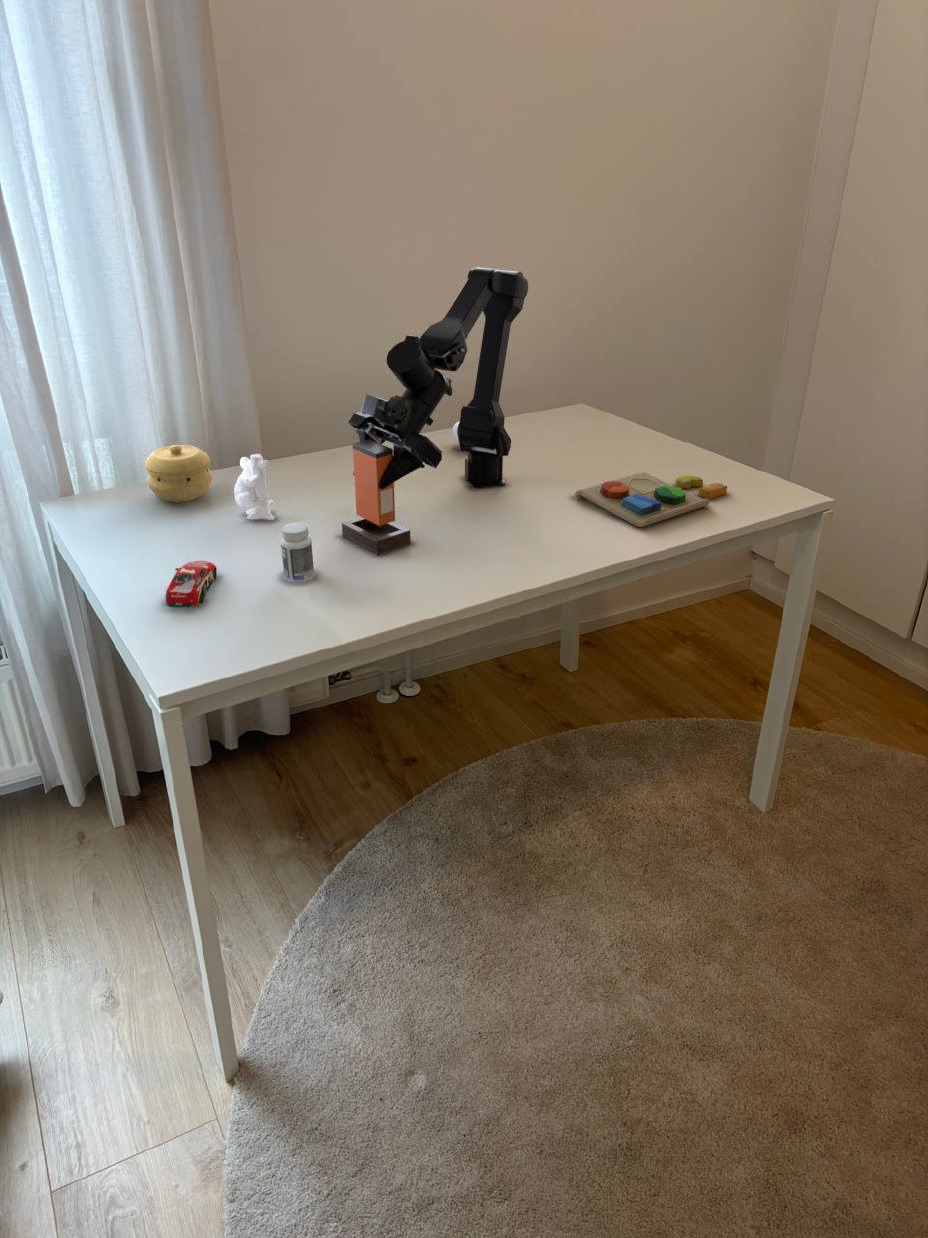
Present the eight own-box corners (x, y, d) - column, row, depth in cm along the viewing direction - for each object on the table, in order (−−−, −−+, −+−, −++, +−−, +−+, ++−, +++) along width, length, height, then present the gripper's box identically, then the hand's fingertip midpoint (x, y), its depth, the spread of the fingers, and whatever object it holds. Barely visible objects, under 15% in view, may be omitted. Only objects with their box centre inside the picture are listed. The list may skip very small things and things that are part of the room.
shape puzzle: (645, 531, 166) (647, 513, 165) (571, 498, 180) (572, 481, 178) (740, 498, 180) (742, 481, 178) (664, 470, 193) (666, 454, 191)
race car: (188, 572, 152) (184, 549, 150) (221, 572, 152) (218, 549, 150) (160, 611, 140) (156, 587, 139) (197, 612, 140) (193, 588, 138)
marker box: (372, 509, 164) (369, 439, 158) (395, 520, 160) (393, 449, 154) (356, 514, 162) (352, 443, 156) (379, 526, 158) (376, 453, 152)
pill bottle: (319, 572, 152) (315, 523, 148) (305, 585, 148) (301, 535, 144) (292, 568, 153) (288, 519, 149) (278, 580, 149) (273, 531, 145)
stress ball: (486, 463, 206) (499, 434, 205) (465, 450, 199) (478, 420, 199) (461, 453, 210) (474, 425, 210) (439, 440, 204) (453, 411, 203)
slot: (375, 525, 168) (374, 512, 167) (410, 543, 162) (410, 530, 160) (342, 536, 164) (341, 522, 163) (377, 555, 158) (376, 541, 156)
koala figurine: (286, 519, 170) (280, 454, 164) (251, 528, 167) (244, 462, 161) (265, 504, 176) (259, 441, 170) (231, 512, 173) (223, 449, 167)
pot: (202, 481, 187) (195, 431, 182) (224, 500, 178) (217, 448, 173) (141, 493, 181) (133, 442, 176) (161, 513, 172) (153, 460, 167)
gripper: (354, 363, 158) (303, 442, 157) (426, 386, 146) (371, 472, 145) (394, 400, 166) (345, 476, 165) (465, 426, 154) (413, 507, 153)
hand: (367, 482), depth 157 cm, fingers closed on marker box, 6 cm apart
